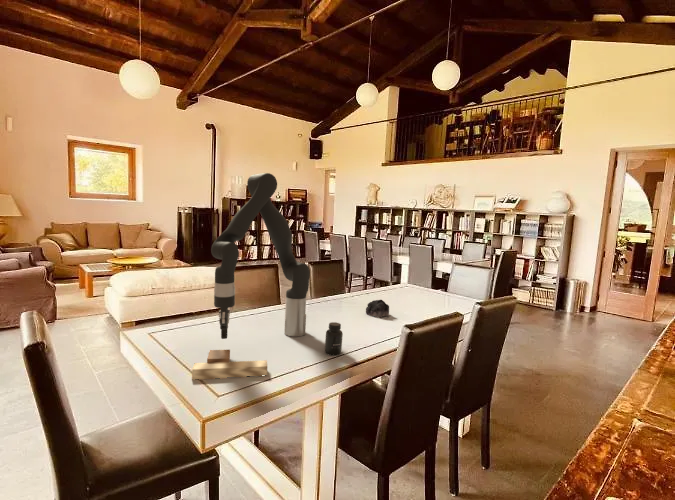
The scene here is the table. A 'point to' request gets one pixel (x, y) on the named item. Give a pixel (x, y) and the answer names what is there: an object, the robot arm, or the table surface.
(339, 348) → the supplement bottle
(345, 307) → the table surface
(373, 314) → the black rock
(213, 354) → the walnut block
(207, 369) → the ash board
